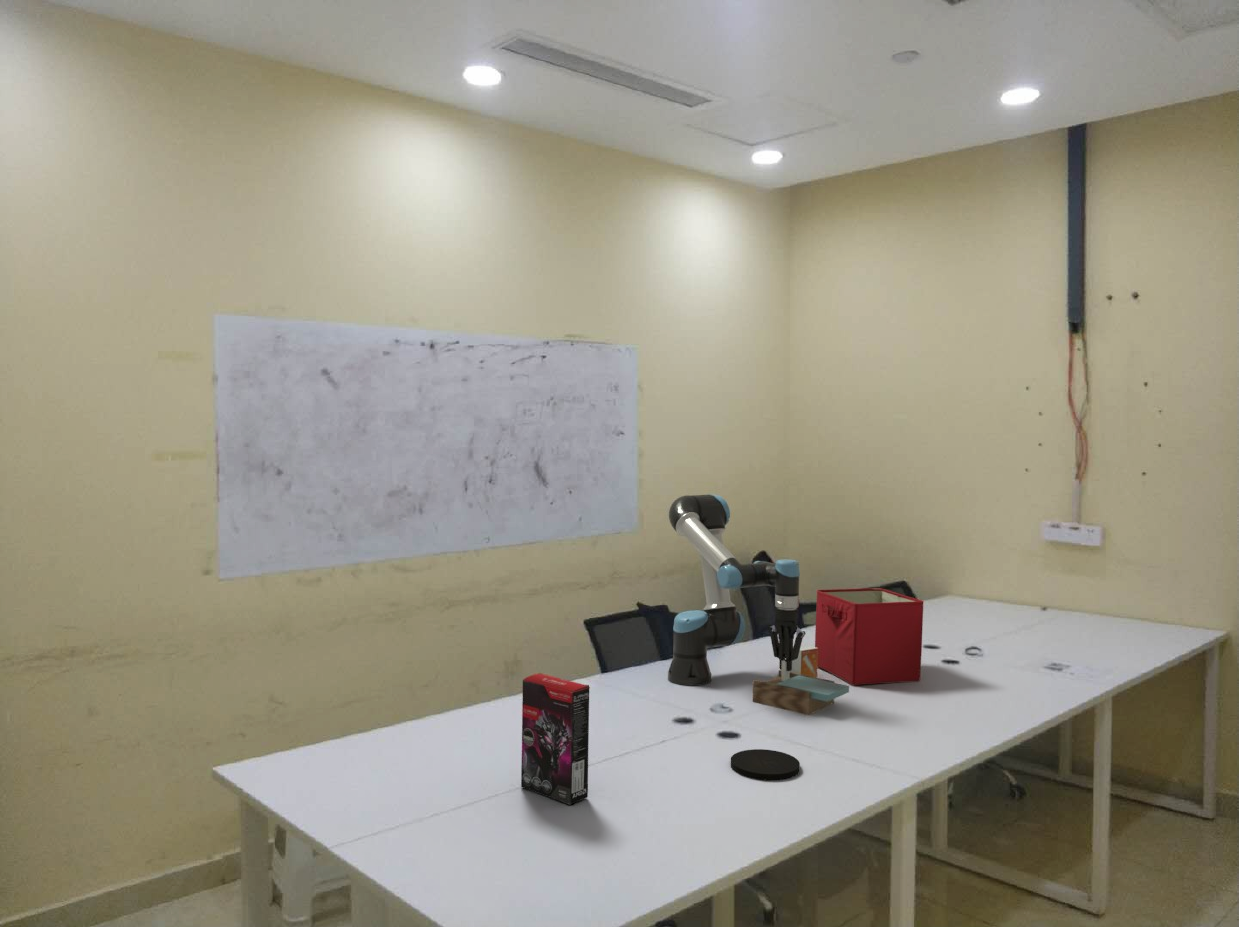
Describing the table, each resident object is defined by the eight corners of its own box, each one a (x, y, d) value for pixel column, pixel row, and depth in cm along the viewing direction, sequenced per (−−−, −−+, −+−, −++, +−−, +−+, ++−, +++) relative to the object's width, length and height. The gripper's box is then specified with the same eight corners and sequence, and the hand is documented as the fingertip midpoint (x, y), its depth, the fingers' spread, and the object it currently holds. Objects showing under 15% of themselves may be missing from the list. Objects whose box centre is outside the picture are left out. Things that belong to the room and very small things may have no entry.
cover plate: (776, 690, 297) (776, 683, 297) (798, 681, 307) (798, 675, 307) (827, 701, 285) (828, 695, 285) (848, 692, 296) (849, 685, 296)
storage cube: (881, 661, 355) (883, 586, 353) (927, 681, 329) (929, 599, 327) (806, 667, 345) (808, 589, 343) (847, 687, 318) (849, 603, 317)
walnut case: (752, 701, 301) (753, 680, 300) (779, 690, 314) (780, 669, 313) (808, 715, 288) (808, 692, 288) (833, 702, 301) (834, 681, 301)
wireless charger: (753, 751, 256) (753, 744, 256) (811, 767, 245) (812, 760, 245) (717, 769, 242) (717, 762, 242) (777, 787, 231) (777, 779, 231)
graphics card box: (518, 787, 227) (519, 677, 226) (538, 779, 233) (539, 671, 231) (570, 807, 217) (572, 691, 215) (590, 798, 222) (592, 684, 221)
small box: (800, 688, 317) (801, 650, 316) (787, 683, 322) (788, 646, 321) (817, 685, 321) (818, 647, 321) (804, 680, 326) (805, 643, 326)
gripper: (763, 606, 303) (761, 678, 304) (798, 612, 294) (797, 686, 295) (775, 603, 308) (773, 674, 309) (810, 608, 300) (809, 681, 301)
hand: (785, 680), depth 302 cm, fingers closed
